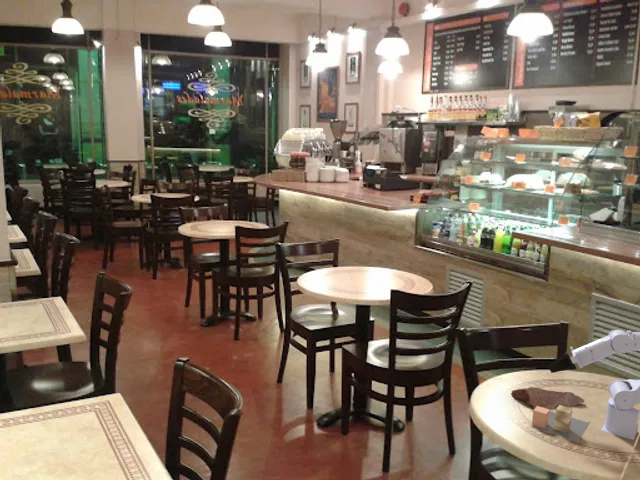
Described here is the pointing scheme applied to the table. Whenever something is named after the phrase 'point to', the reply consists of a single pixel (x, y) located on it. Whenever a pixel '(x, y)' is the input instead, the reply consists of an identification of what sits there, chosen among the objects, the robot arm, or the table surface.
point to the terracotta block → (540, 417)
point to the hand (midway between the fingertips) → (550, 369)
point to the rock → (546, 397)
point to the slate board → (573, 434)
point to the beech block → (563, 419)
